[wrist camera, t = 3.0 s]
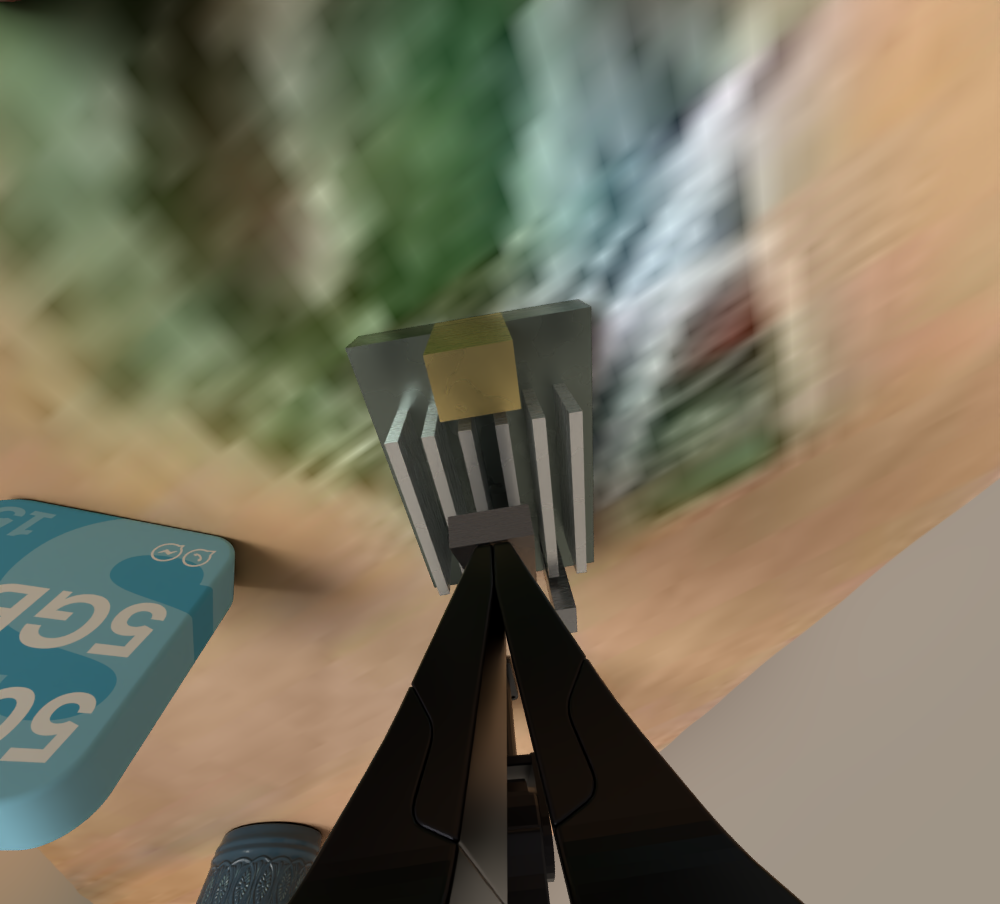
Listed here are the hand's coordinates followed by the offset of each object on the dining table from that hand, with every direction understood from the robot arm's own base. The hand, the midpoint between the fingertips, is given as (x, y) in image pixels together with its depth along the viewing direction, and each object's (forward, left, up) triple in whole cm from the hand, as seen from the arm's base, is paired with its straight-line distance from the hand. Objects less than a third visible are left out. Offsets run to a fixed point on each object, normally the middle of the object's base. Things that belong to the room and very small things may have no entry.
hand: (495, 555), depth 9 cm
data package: (-6, +22, -11) cm, 25 cm away
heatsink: (-4, 0, -11) cm, 12 cm away
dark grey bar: (-5, 0, -4) cm, 6 cm away
